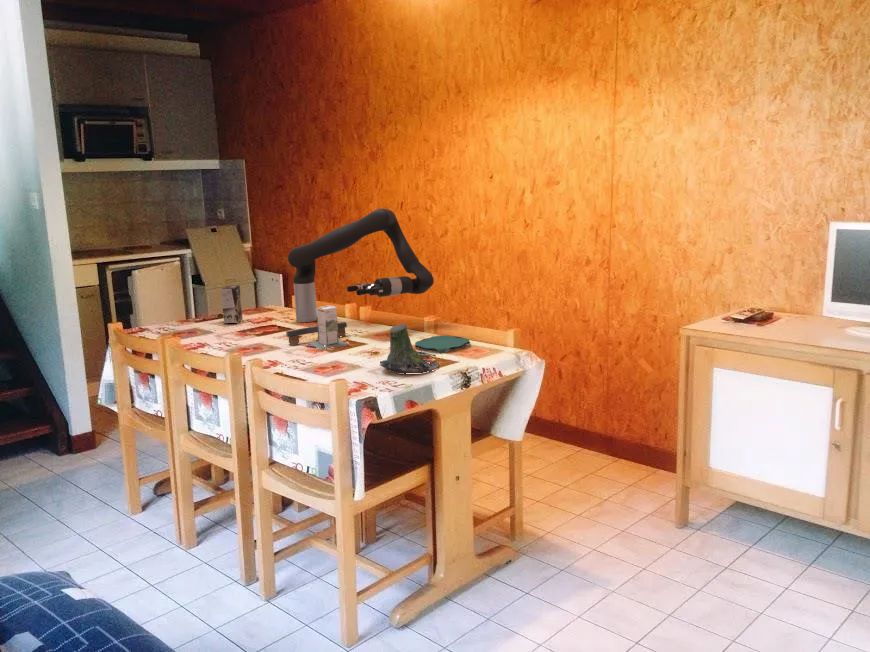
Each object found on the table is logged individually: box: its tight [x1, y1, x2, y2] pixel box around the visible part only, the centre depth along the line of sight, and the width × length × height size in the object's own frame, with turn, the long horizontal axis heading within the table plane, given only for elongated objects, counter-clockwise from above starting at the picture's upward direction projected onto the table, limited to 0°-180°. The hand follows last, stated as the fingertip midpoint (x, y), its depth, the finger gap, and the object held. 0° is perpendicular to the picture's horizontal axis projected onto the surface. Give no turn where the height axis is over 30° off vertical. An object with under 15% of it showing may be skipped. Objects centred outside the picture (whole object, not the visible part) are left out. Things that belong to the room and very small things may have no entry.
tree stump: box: [379, 323, 440, 375], centre depth 252 cm, size 18×20×18 cm
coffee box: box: [220, 285, 244, 324], centre depth 339 cm, size 9×6×16 cm
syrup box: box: [316, 304, 339, 346], centre depth 290 cm, size 6×6×14 cm
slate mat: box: [307, 339, 350, 350], centre depth 291 cm, size 12×12×1 cm
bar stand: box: [288, 328, 347, 345], centre depth 299 cm, size 3×23×4 cm, turn 123°
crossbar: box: [285, 321, 348, 338], centre depth 299 cm, size 2×25×2 cm, turn 122°
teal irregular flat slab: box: [414, 334, 471, 359], centre depth 279 cm, size 20×30×2 cm, turn 137°
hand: (352, 290), depth 298 cm, fingers open, 8 cm apart
